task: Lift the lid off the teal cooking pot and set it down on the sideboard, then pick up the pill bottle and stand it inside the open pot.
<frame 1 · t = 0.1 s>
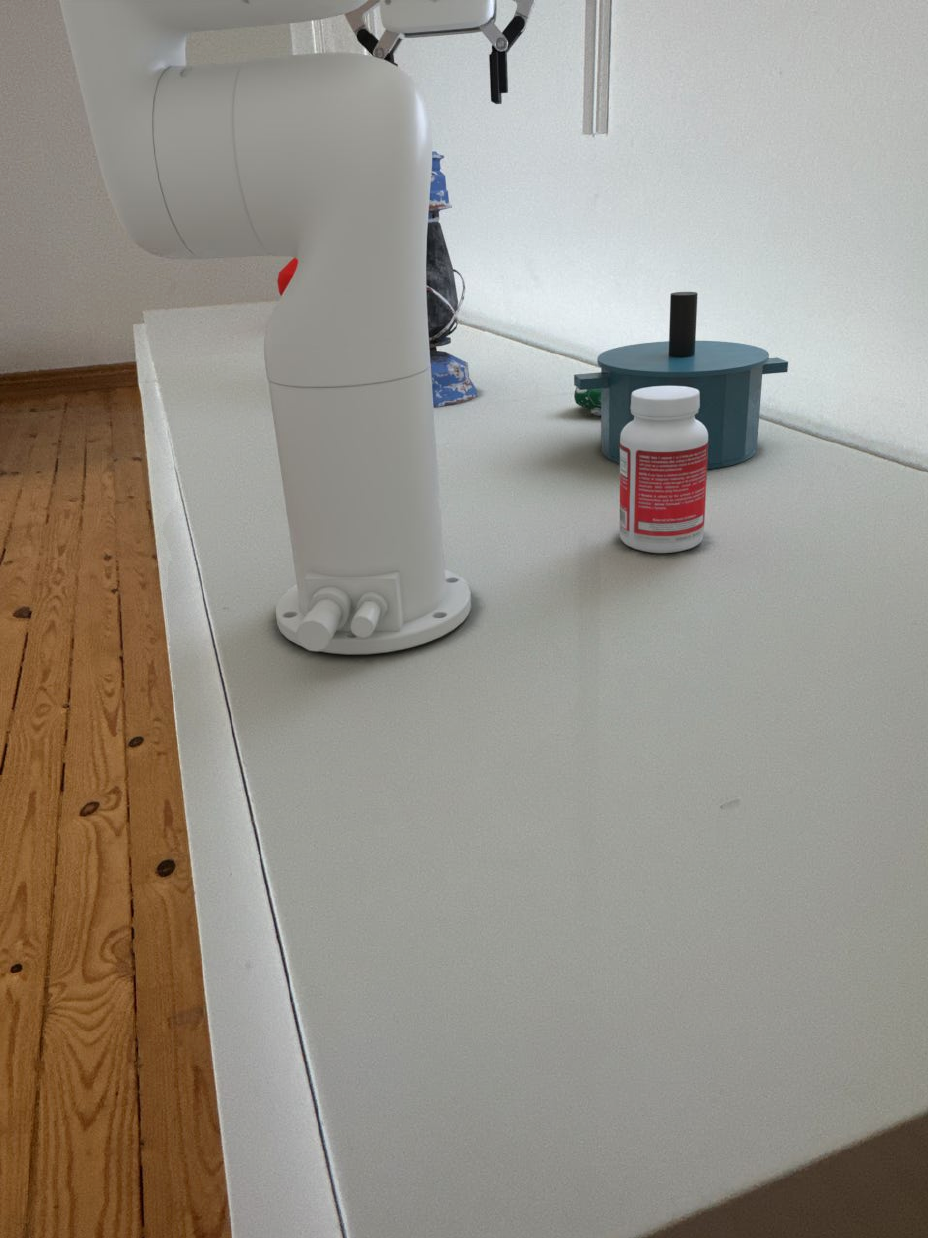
hand: (445, 106, 90), 31 cm above the sideboard, tool pointing down, fingers open, 9 cm apart
tin lid: (681, 360, 90), point 8 cm above the sideboard, touching teal cooking pot
teal cooking pot: (678, 449, 94), on the sideboard
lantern: (429, 397, 122), on the sideboard
pill bottle: (660, 543, 72), on the sideboard
vase: (330, 323, 189), on the sideboard
gaming controller: (613, 415, 108), on the sideboard
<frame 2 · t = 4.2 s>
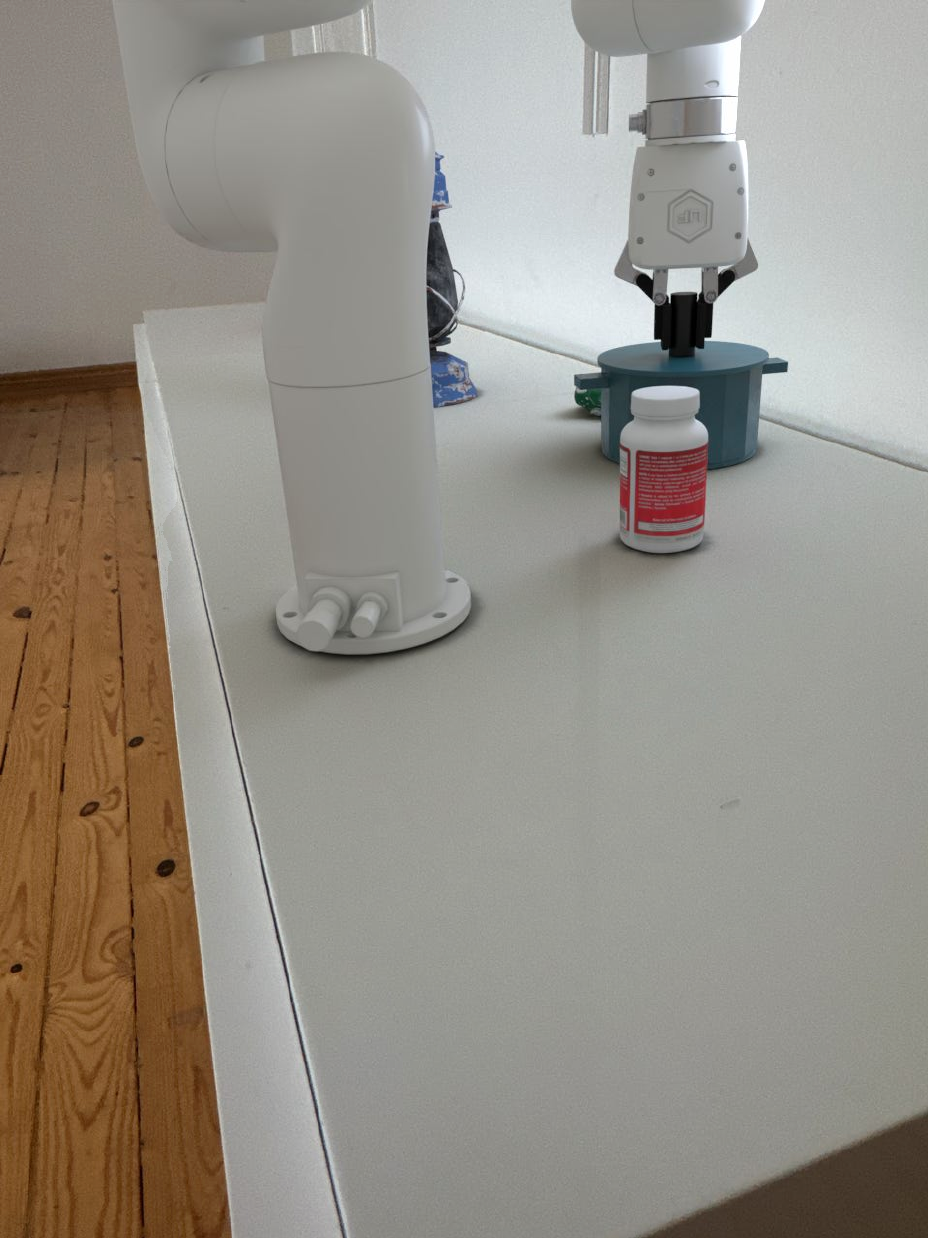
hand: (682, 345, 90), 10 cm above the sideboard, tool pointing down, fingers closed on tin lid, 2 cm apart
tin lid: (681, 360, 90), point 9 cm above the sideboard, touching gripper, teal cooking pot
everything else where it was.
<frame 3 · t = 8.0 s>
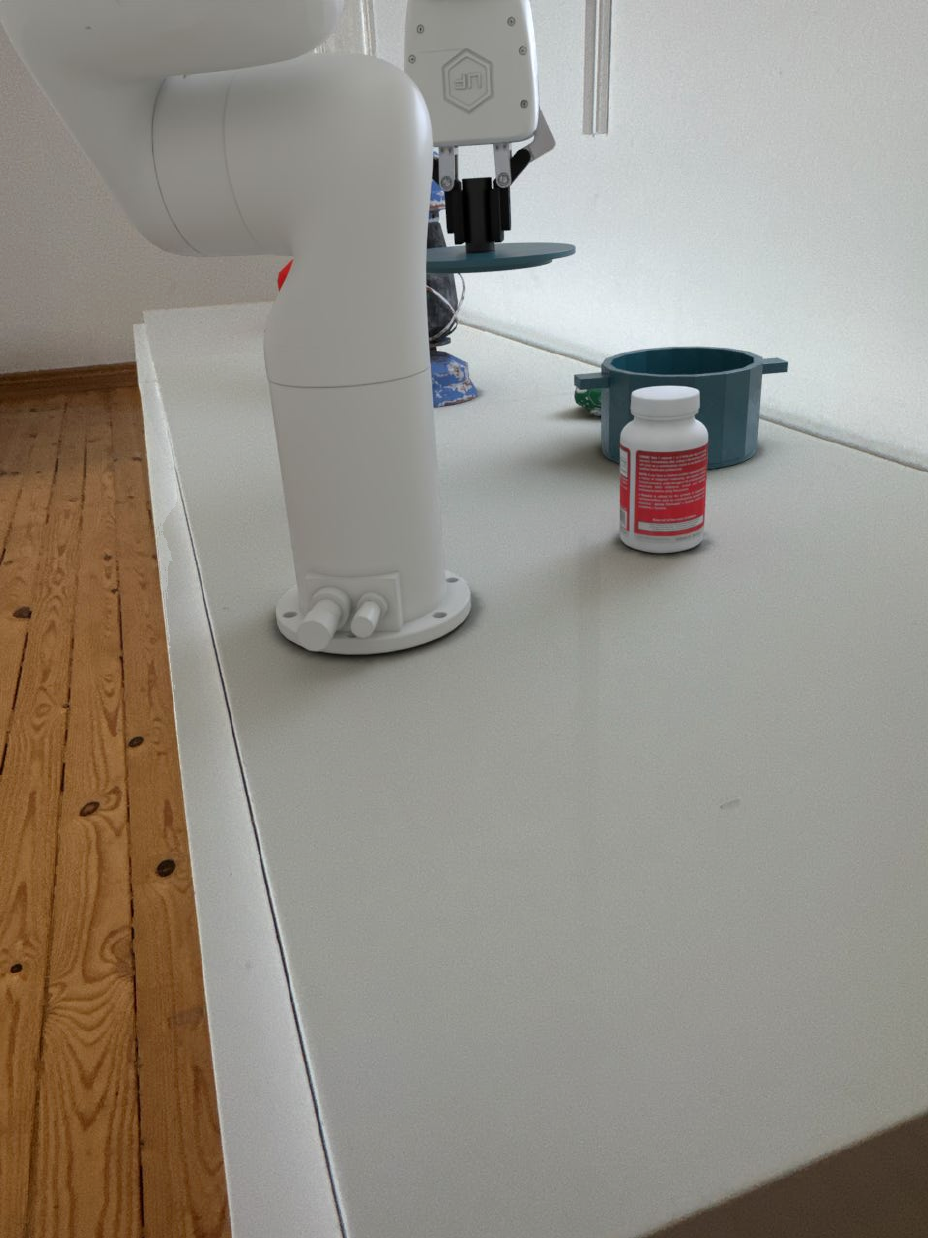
hand: (479, 240, 79), 21 cm above the sideboard, tool pointing down, fingers closed on tin lid, 2 cm apart
tin lid: (480, 257, 80), point 19 cm above the sideboard, touching gripper
everything else where it was.
when the fingers open (2 cm above the sideboard, at t = 12.1 s): tin lid stays where it is, point 1 cm above the sideboard.
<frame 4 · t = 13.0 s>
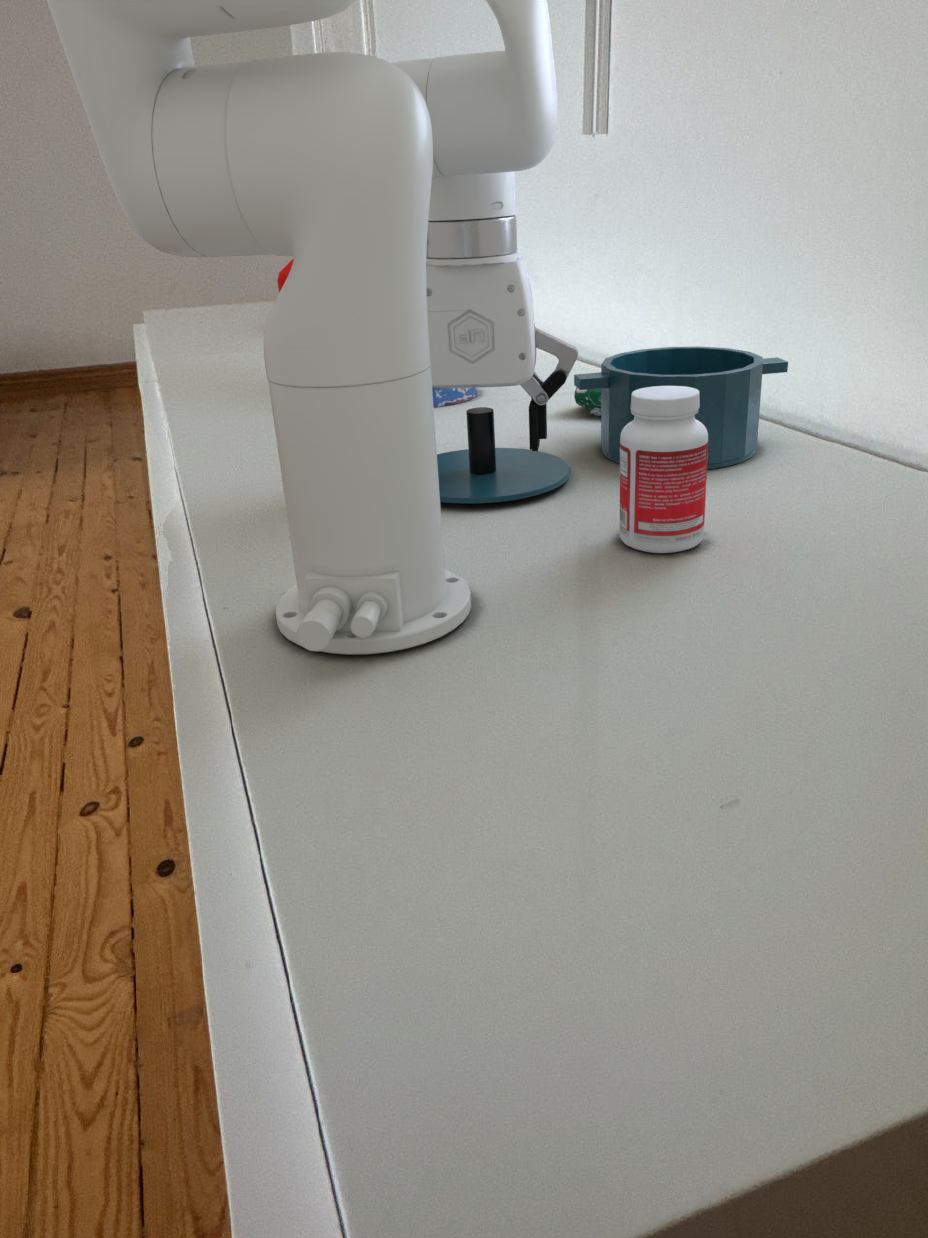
hand: (481, 448, 86), 3 cm above the sideboard, tool pointing down, fingers open, 9 cm apart
tin lid: (483, 476, 87), point 1 cm above the sideboard
everything else where it was.
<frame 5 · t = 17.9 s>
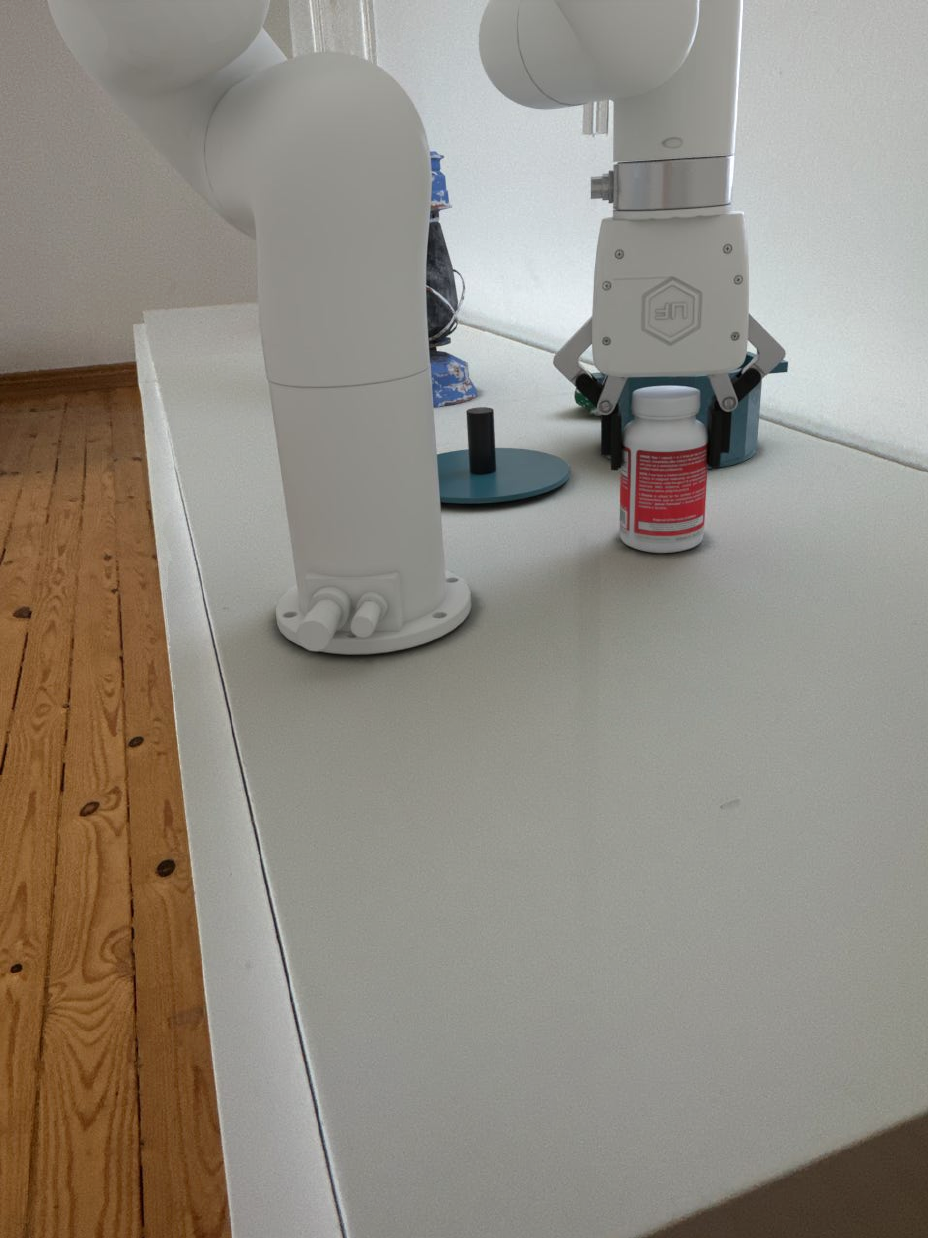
hand: (663, 461, 69), 6 cm above the sideboard, tool pointing down, fingers closed on pill bottle, 6 cm apart
pill bottle: (660, 542, 72), on the sideboard, touching gripper
everything else where it was.
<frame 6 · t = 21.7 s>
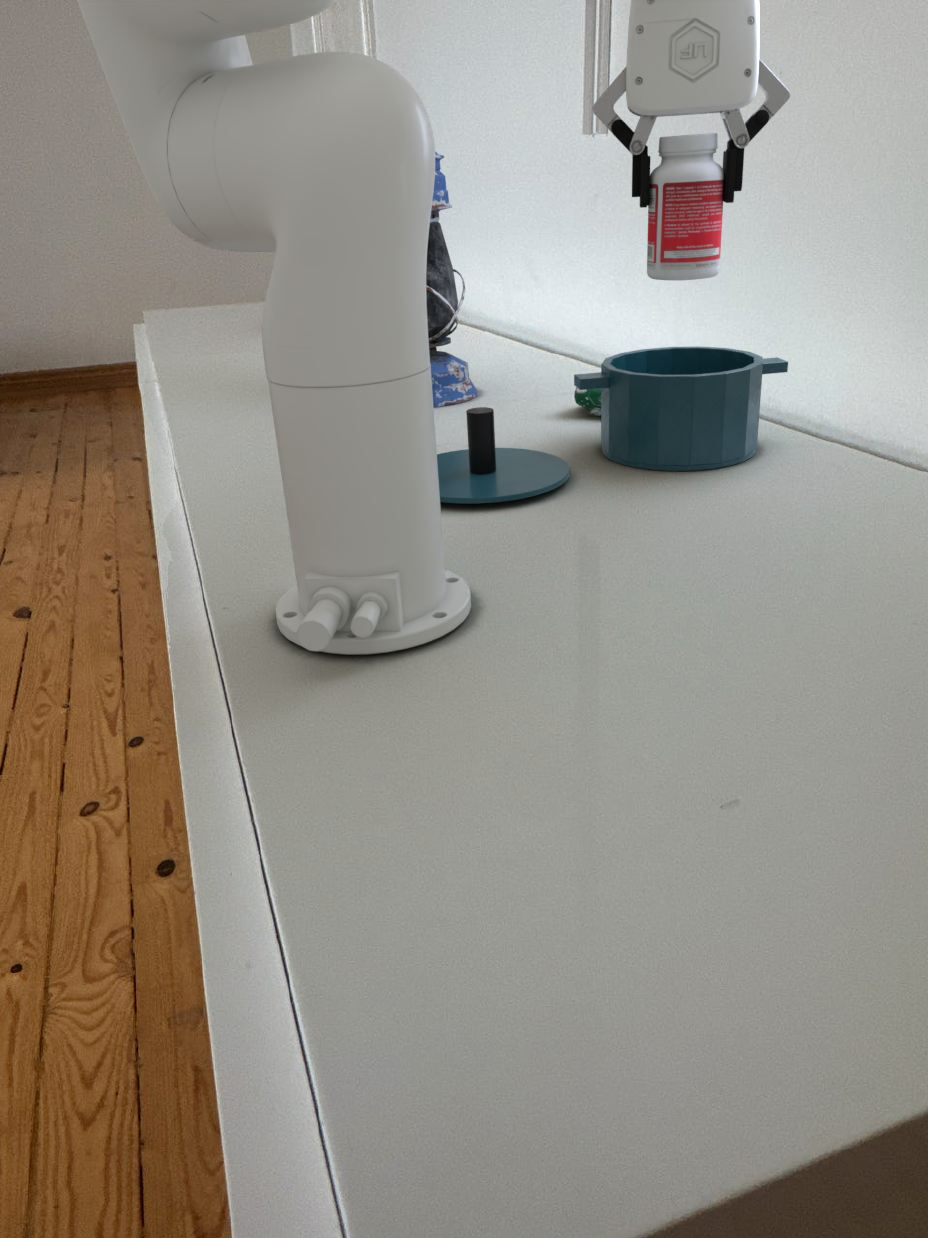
hand: (685, 202, 81), 22 cm above the sideboard, tool pointing down, fingers closed on pill bottle, 6 cm apart
pill bottle: (682, 279, 84), point 16 cm above the sideboard, touching gripper
everything else where it was.
when the fingers open (7 cm above the sideboard, at t = 26.0 s): pill bottle stays where it is, resting on teal cooking pot.
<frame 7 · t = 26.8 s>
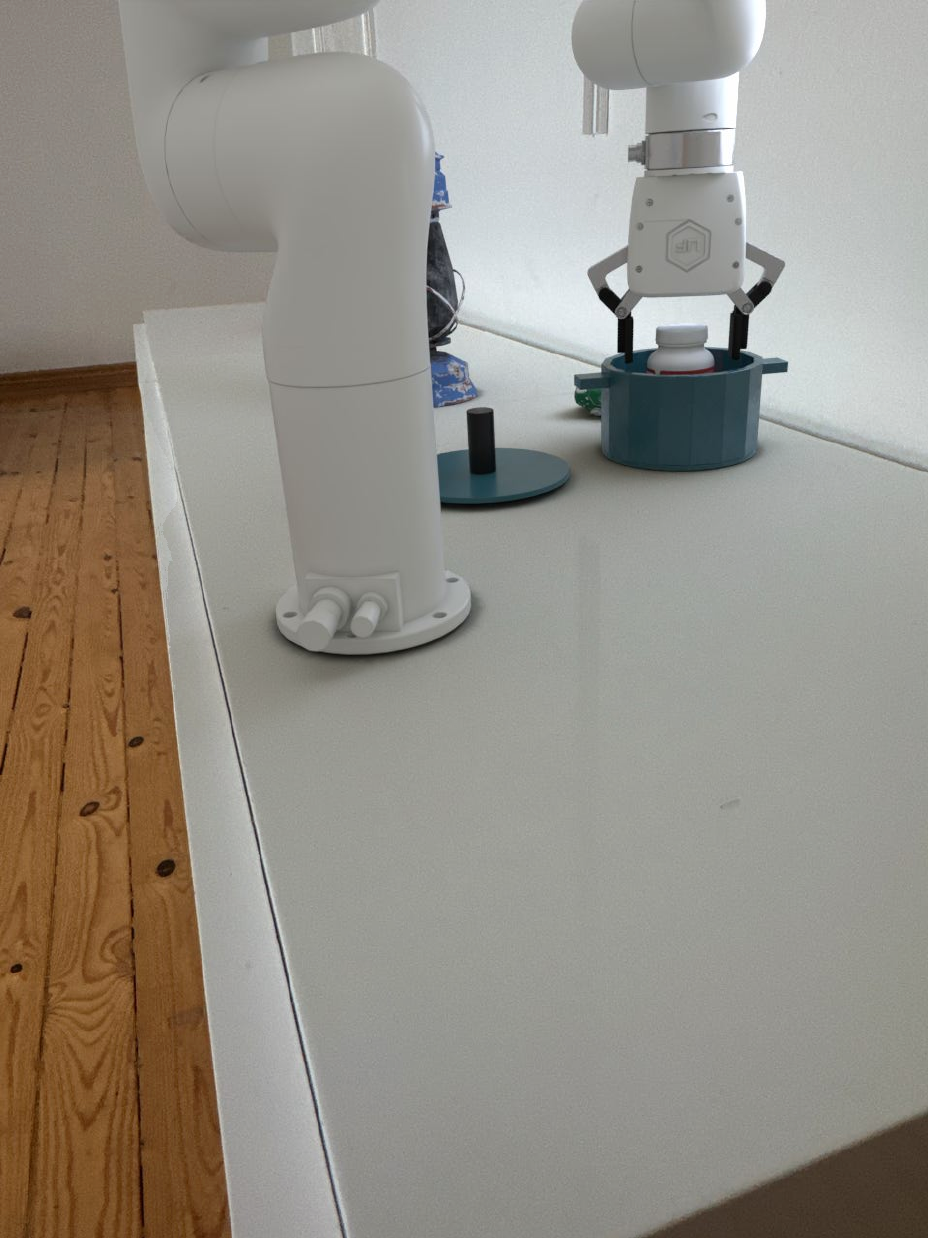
hand: (680, 359, 90), 9 cm above the sideboard, tool pointing down, fingers open, 9 cm apart
pill bottle: (677, 446, 94), resting on teal cooking pot
everything else where it was.
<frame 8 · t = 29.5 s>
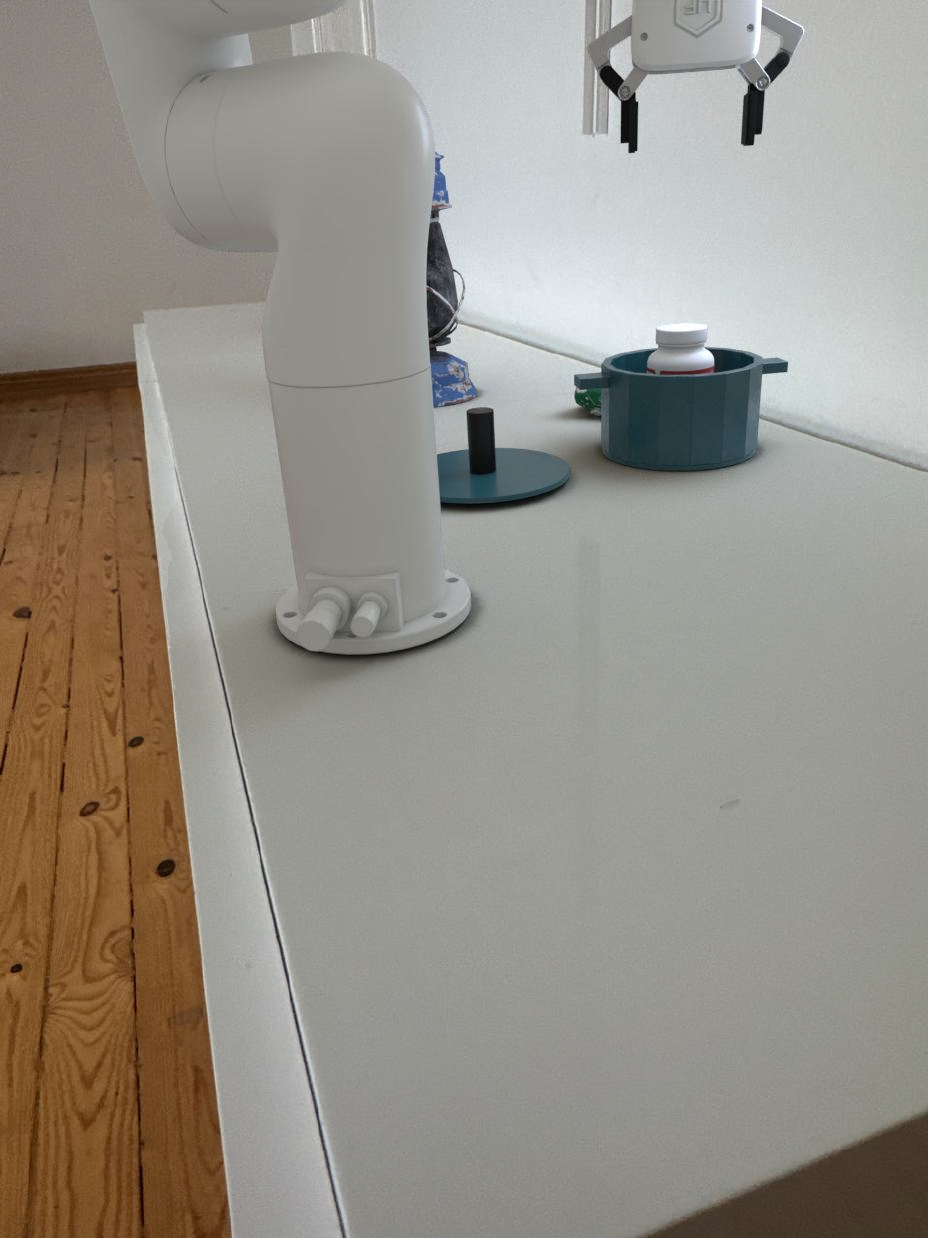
hand: (689, 149, 83), 26 cm above the sideboard, tool pointing down, fingers open, 9 cm apart
nothing on the sideboard moved.
at the end: tin lid inside the target area (0.2 cm from its centre), point 0.6 cm above the sideboard; pill bottle inside the target area in the teal cooking pot (0.1 cm from its centre), point 0.3 cm above the teal cooking pot's base; pill bottle tilted 0° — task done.
